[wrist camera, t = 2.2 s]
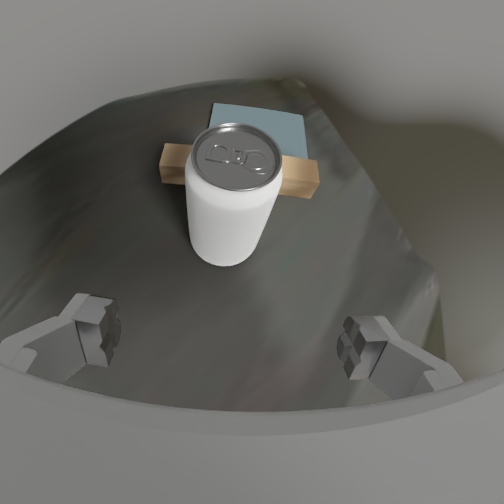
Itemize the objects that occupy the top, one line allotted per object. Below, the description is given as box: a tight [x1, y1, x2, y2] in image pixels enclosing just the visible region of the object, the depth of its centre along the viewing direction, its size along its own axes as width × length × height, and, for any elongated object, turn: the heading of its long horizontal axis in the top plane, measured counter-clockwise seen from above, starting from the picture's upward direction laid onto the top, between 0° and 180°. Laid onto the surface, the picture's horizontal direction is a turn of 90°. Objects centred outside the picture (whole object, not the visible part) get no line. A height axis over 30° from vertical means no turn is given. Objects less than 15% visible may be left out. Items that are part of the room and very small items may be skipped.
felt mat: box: [209, 103, 308, 159], centre depth 33 cm, size 12×10×1 cm
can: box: [185, 122, 283, 266], centre depth 22 cm, size 6×6×12 cm
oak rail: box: [159, 143, 319, 199], centre depth 29 cm, size 16×3×3 cm, turn 88°
